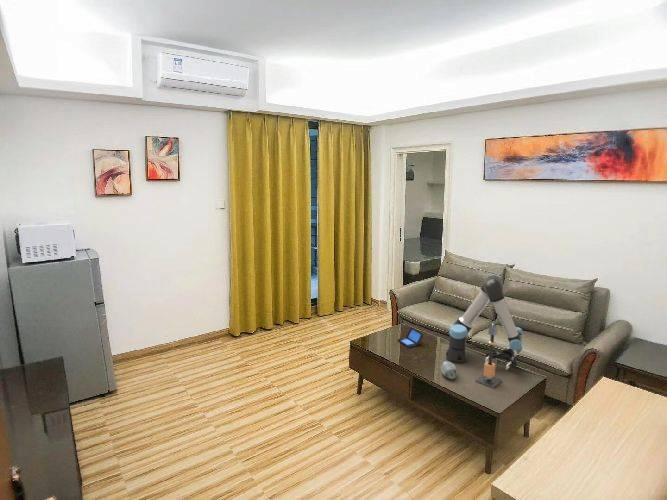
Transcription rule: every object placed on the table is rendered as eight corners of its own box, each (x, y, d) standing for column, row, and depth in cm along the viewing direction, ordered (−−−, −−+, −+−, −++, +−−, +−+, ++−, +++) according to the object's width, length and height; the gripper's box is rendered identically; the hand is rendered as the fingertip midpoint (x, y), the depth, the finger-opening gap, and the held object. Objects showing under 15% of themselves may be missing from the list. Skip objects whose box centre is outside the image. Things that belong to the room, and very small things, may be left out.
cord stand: (475, 381, 260) (479, 323, 253) (483, 374, 269) (488, 318, 261) (493, 388, 252) (499, 328, 244) (501, 381, 261) (507, 323, 253)
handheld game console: (396, 340, 321) (397, 329, 319) (410, 338, 327) (411, 327, 325) (408, 348, 308) (409, 337, 306) (423, 345, 313) (423, 334, 311)
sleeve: (483, 375, 260) (484, 363, 258) (486, 372, 263) (487, 361, 262) (491, 378, 256) (492, 366, 255) (494, 375, 260) (495, 363, 258)
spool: (461, 376, 259) (453, 362, 260) (447, 383, 260) (440, 368, 261) (457, 371, 273) (450, 357, 274) (444, 377, 274) (437, 363, 275)
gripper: (527, 364, 273) (515, 375, 258) (490, 352, 290) (477, 362, 275) (528, 354, 271) (516, 364, 256) (491, 342, 288) (478, 352, 273)
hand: (496, 363), depth 266 cm, fingers open, 13 cm apart
